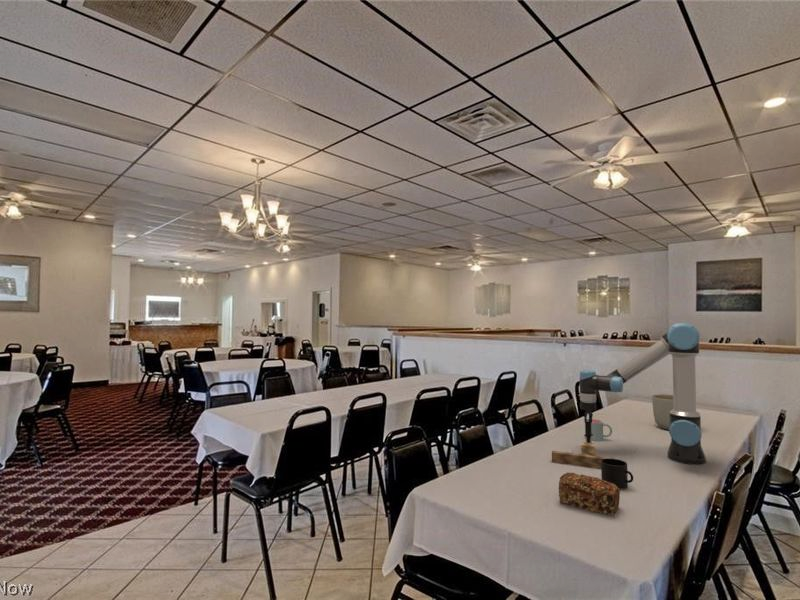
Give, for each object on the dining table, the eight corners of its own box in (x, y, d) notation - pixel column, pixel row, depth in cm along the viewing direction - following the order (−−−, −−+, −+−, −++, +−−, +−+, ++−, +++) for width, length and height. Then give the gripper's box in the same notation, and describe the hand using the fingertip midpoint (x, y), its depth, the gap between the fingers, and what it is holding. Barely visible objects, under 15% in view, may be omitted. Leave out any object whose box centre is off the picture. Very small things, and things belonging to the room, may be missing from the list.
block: (595, 455, 210) (595, 443, 211) (595, 459, 205) (594, 446, 205) (581, 454, 213) (581, 441, 213) (581, 457, 208) (581, 444, 208)
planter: (692, 427, 264) (692, 396, 265) (694, 435, 247) (693, 401, 248) (653, 423, 276) (652, 393, 276) (652, 430, 258) (651, 398, 259)
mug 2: (627, 493, 165) (627, 469, 165) (597, 484, 174) (596, 461, 174) (638, 487, 171) (638, 464, 171) (608, 478, 180) (608, 456, 180)
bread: (557, 503, 156) (557, 475, 156) (567, 494, 164) (566, 467, 165) (614, 518, 145) (613, 488, 145) (621, 507, 153) (620, 478, 153)
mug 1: (585, 440, 236) (585, 422, 237) (584, 436, 245) (584, 418, 245) (613, 443, 231) (612, 424, 231) (611, 438, 240) (611, 420, 240)
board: (614, 468, 192) (613, 457, 192) (614, 470, 189) (614, 459, 190) (552, 460, 203) (552, 450, 204) (551, 462, 201) (551, 452, 201)
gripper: (580, 398, 225) (581, 444, 224) (579, 403, 213) (579, 451, 212) (596, 399, 221) (597, 446, 220) (595, 404, 210) (596, 453, 209)
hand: (588, 449), depth 216 cm, fingers closed
